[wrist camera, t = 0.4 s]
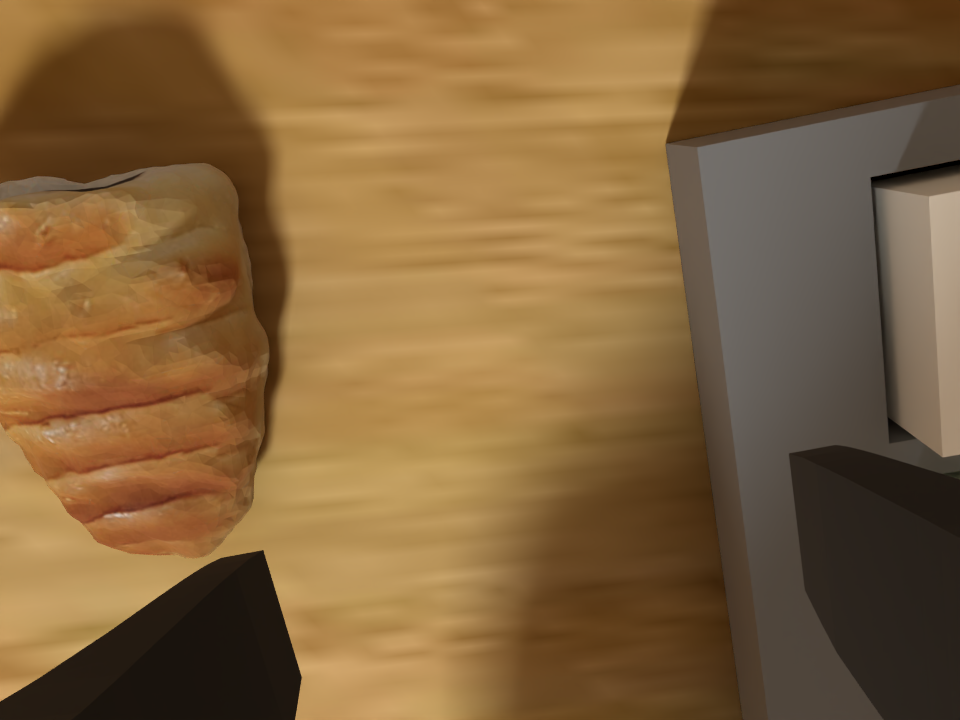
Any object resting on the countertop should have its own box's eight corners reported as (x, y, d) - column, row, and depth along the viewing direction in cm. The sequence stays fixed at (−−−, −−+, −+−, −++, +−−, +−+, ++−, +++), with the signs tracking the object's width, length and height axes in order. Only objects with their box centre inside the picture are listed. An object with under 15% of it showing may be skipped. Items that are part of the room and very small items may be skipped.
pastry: (324, 510, 22) (290, 589, 18) (77, 544, 22) (-7, 628, 19) (240, 142, 19) (179, 147, 16) (-39, 189, 20) (-161, 204, 16)
